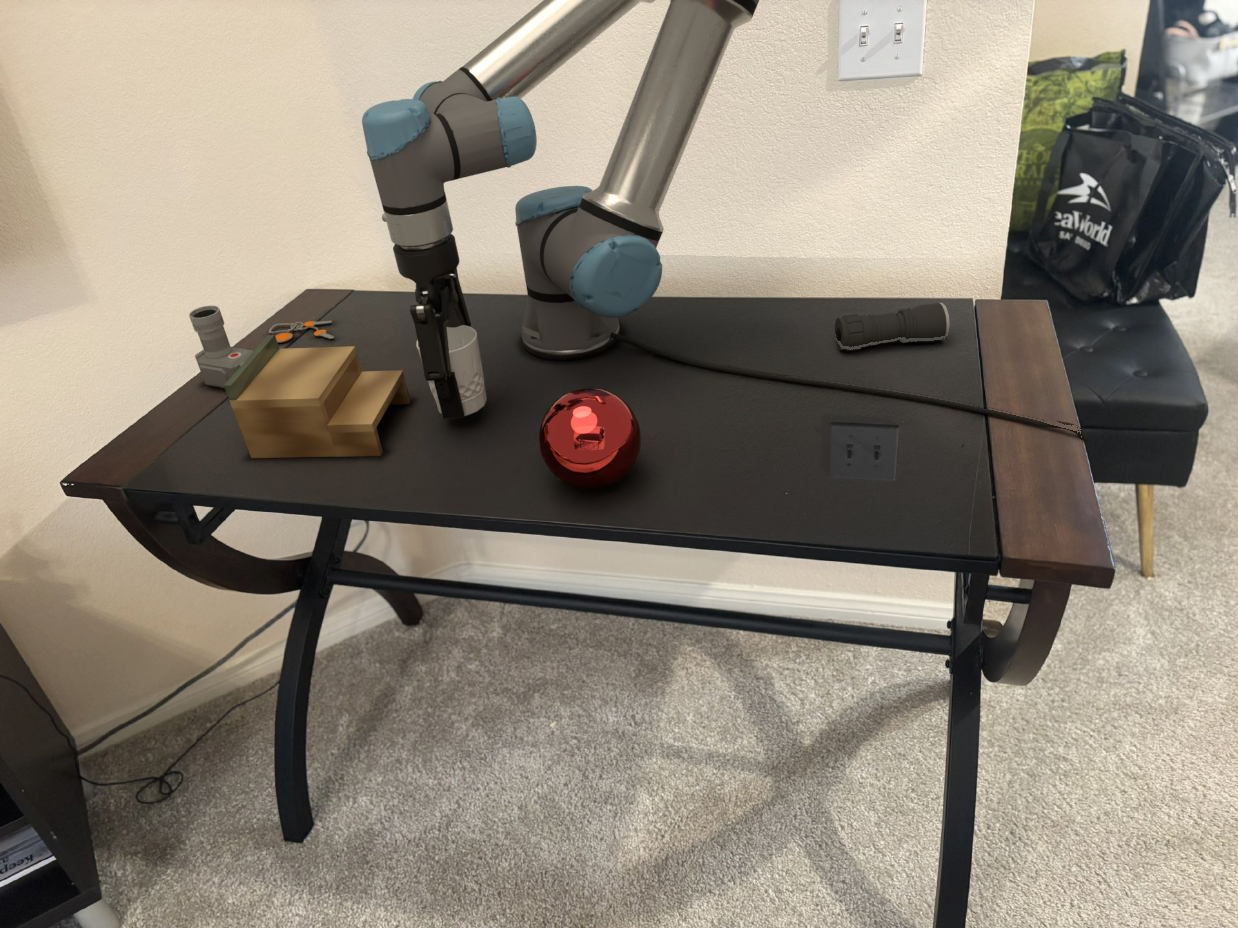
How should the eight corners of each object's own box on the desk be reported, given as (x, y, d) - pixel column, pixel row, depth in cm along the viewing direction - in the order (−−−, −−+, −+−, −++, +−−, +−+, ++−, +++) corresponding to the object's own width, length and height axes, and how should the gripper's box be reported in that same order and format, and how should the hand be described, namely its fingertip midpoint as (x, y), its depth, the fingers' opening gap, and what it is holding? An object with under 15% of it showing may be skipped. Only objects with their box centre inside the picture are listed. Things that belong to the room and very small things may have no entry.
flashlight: (841, 359, 129) (843, 325, 126) (830, 342, 134) (832, 309, 131) (947, 347, 130) (951, 312, 127) (933, 330, 134) (937, 296, 131)
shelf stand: (410, 400, 130) (393, 330, 124) (380, 456, 119) (359, 381, 112) (291, 403, 132) (268, 334, 126) (251, 458, 121) (223, 385, 114)
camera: (208, 297, 137) (287, 308, 132) (232, 365, 144) (308, 378, 139) (165, 322, 131) (245, 334, 126) (192, 392, 138) (270, 407, 132)
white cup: (500, 391, 124) (486, 326, 119) (475, 422, 119) (459, 355, 113) (449, 387, 127) (434, 322, 121) (422, 417, 121) (404, 351, 115)
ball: (659, 462, 112) (654, 377, 105) (618, 519, 104) (608, 430, 97) (574, 445, 117) (563, 363, 110) (527, 498, 108) (513, 412, 101)
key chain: (259, 343, 150) (257, 339, 149) (277, 323, 155) (275, 319, 155) (332, 341, 148) (331, 336, 147) (348, 321, 154) (346, 317, 153)
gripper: (415, 210, 118) (452, 364, 131) (366, 275, 101) (413, 444, 115) (471, 206, 117) (502, 361, 130) (431, 271, 100) (471, 442, 114)
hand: (461, 400), depth 122 cm, fingers closed on white cup, 8 cm apart
